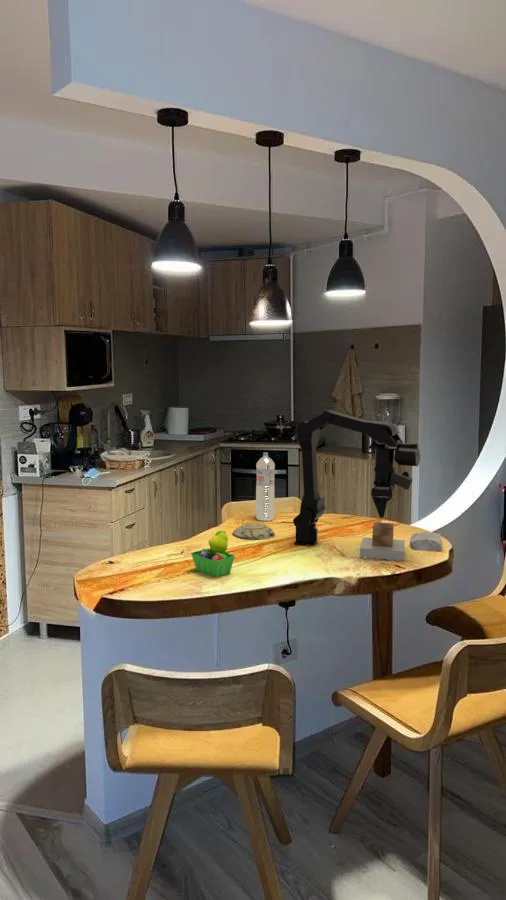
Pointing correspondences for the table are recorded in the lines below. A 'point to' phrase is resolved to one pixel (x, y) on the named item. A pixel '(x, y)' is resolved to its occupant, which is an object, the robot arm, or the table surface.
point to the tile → (382, 550)
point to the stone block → (426, 541)
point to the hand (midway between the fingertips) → (382, 514)
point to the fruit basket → (214, 556)
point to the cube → (382, 534)
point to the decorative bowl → (253, 531)
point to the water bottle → (265, 489)
